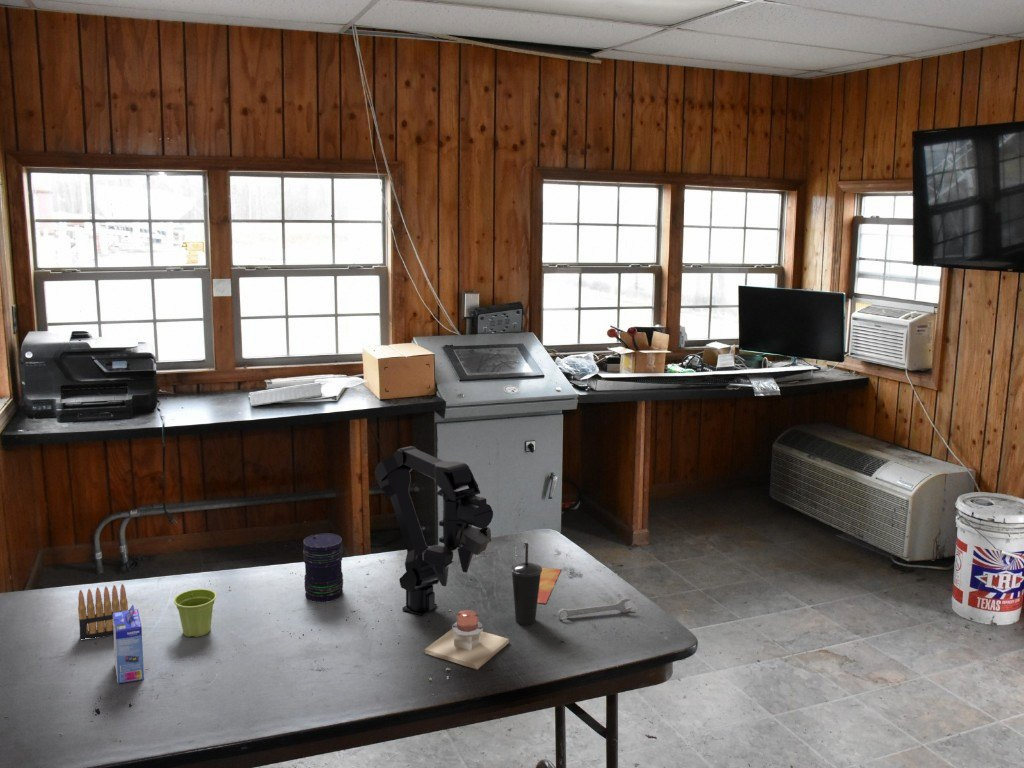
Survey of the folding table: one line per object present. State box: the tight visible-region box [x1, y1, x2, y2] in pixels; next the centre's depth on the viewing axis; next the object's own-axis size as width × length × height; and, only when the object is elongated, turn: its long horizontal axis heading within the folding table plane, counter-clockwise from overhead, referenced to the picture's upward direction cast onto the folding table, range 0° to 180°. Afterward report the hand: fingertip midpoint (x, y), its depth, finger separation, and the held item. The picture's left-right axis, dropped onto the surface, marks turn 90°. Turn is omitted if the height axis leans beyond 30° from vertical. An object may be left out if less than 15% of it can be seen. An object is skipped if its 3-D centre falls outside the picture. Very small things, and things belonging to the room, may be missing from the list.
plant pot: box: [173, 588, 217, 638], centre depth 207 cm, size 9×9×9 cm
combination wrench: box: [557, 597, 634, 621], centre depth 219 cm, size 4×1×20 cm
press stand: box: [424, 628, 510, 671], centre depth 202 cm, size 14×14×4 cm
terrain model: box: [537, 567, 562, 604], centre depth 239 cm, size 25×22×1 cm
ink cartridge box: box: [113, 604, 145, 684], centre depth 188 cm, size 10×6×14 cm, turn 27°
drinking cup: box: [510, 543, 543, 626], centre depth 214 cm, size 8×8×20 cm
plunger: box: [451, 609, 484, 637], centre depth 201 cm, size 7×7×7 cm
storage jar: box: [302, 532, 344, 603], centre depth 227 cm, size 10×10×15 cm
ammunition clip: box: [77, 583, 129, 641], centre depth 204 cm, size 11×2×12 cm, turn 114°
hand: (454, 578), depth 209 cm, fingers open, 9 cm apart
